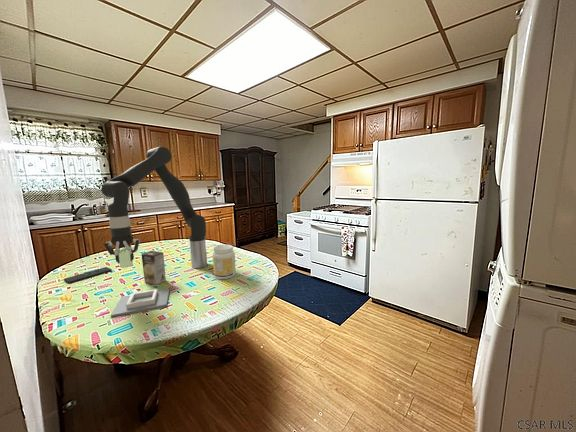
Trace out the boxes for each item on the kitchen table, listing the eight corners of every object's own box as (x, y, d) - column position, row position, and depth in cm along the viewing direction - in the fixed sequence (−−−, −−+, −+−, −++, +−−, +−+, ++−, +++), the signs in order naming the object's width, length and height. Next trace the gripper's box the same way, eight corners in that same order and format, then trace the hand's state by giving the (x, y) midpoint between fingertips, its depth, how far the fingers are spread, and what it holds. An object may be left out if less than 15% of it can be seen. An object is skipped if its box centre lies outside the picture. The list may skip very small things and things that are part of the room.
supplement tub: (220, 270, 139) (218, 243, 137) (239, 272, 137) (238, 244, 134) (209, 279, 127) (207, 249, 125) (230, 280, 125) (228, 251, 122)
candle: (126, 268, 105) (124, 250, 104) (117, 267, 106) (115, 250, 105) (135, 264, 110) (133, 247, 108) (126, 263, 111) (124, 247, 109)
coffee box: (143, 282, 124) (140, 254, 122) (154, 277, 130) (151, 250, 128) (156, 284, 121) (153, 255, 119) (166, 279, 127) (163, 252, 125)
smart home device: (112, 269, 141) (68, 281, 124) (112, 271, 141) (69, 284, 124) (106, 266, 145) (63, 278, 128) (106, 269, 145) (63, 281, 128)
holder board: (169, 290, 115) (168, 284, 115) (166, 306, 101) (165, 300, 100) (121, 298, 108) (120, 292, 107) (110, 317, 93) (109, 310, 93)
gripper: (140, 223, 111) (144, 257, 113) (104, 225, 106) (109, 261, 108) (136, 226, 104) (141, 262, 106) (97, 229, 99) (103, 267, 101)
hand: (125, 261), depth 107 cm, fingers closed on candle, 4 cm apart
